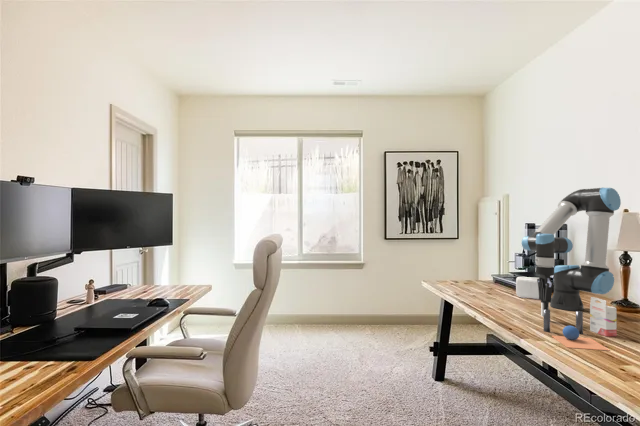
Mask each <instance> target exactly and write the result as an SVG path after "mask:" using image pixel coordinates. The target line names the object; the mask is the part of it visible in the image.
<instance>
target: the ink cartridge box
mask: <svg viewBox="0 0 640 426" xmlns="http://www.w3.org/2000/svg"><path fill="white" fill-rule="evenodd" d="M617 329H618V327H617V307H615V306H610V305H607V300H605V299H602V298H598V297H593V296H591V297H590V303H589V331H590V332H592V333H595V334H599V335H601V336H603V337H617V336H618V335H617V333H618V332H617Z"/></svg>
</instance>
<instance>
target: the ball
mask: <svg viewBox="0 0 640 426" xmlns="http://www.w3.org/2000/svg"><path fill="white" fill-rule="evenodd" d="M562 334H563V335H562V336H565V337H566V338H567V339H569V340H576V339H577V338H578V337H580V334H579V331H578V329H577V328H576V326H573V325H566V326H564V327H563V329H562Z"/></svg>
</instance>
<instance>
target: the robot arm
mask: <svg viewBox="0 0 640 426" xmlns="http://www.w3.org/2000/svg"><path fill="white" fill-rule="evenodd" d="M621 204H622V202H621V197H620V194H619V193H618V191H617V190H616V189H615V188H612V187H595V188H581V189H578V190H575V191H573V192H571V193H569V194H568V195H566V196H565V197H564V198H563V199H561V200H560V201H559V202H558V204H557V208H556V209H555V210H554V211H553V212H552V213H551V214H550V215H549V216H548V217H547V218H546V219H545V221H544V222H543V223H542V224H540V226H539V227H538V228H537V229H536V230H535V231H534V232H533V234H531V235H526V236H523V237H522V240H521V247H522V248H523V249H524V250H526V251H530V252H531V251H532V252H535V258H534V262H535V265H536V267H535V274H537V275H539V277H538V278H539V279H537V282H538V291H539V299H538V300H540V304H541V305H540V307H541V308H540V315H541V317H542V318H544V309H548V310H550V308H549V307H552V308H554V309H558V310H565V311H574V312H576V311H581V312H582V311H583V310H585V309H584V304H583V300H582V297H581V294H580V292H586V293H592V294H597V295H606V294H609V293H610V291H611V290H612V288H613V286H614V283H615V277H614V274H613V273H612V272H611V271H610V268H609V266H608V265H607V253H608V241H609V229H610V220H611V218H612V217H613V216H614V215H615V211H617V210H619V209H620V208H621ZM583 211H585V214H586V215H587V216H588V225H587V232H586V233H587V235H586V247H585V258H584V262H583V263H581V264H580V265H579V264H569V265H568V264H565V265H563V264H560V265H559V264H558V265H556V264H555V254H566V253H567V254H568V253H570V252H571V251H573V247H574V245H573V244H574V243H573V242H572V240H571V239H570V238H568V237H555V234H556V233H557V232H558V231H559V230H560V229H561V228H562V226H564V225H565V223H566V222H568V220H569V219H570V218H571V216H575V215H576V214H577V213H579V212H583ZM552 276H553V282H552V278H551V277H552Z"/></svg>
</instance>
